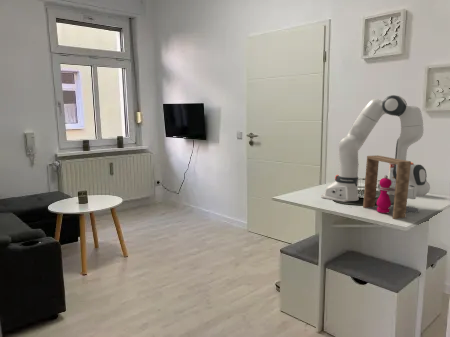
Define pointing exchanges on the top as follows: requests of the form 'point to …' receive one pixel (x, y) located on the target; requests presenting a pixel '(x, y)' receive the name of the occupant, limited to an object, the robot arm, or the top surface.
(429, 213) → the top surface
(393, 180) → the cracker box
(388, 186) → the pepper mill
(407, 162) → the walnut arch
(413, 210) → the charcoal mat
